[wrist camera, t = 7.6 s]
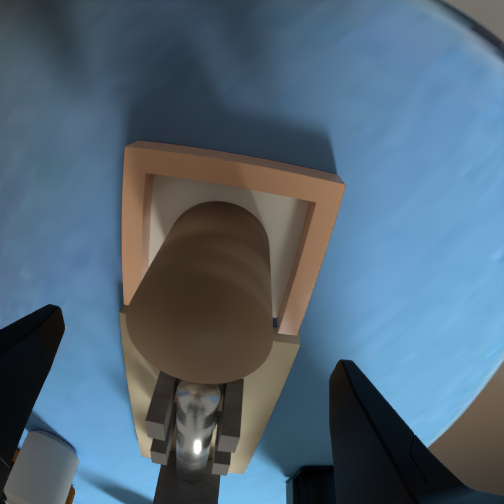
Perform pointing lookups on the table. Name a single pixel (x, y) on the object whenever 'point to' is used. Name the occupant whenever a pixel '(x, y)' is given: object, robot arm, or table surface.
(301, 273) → the picture frame
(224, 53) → the table surface
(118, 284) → the table surface
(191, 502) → the shaft
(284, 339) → the beige piece
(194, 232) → the brown dome-ended cylinder
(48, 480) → the can
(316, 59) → the table surface
